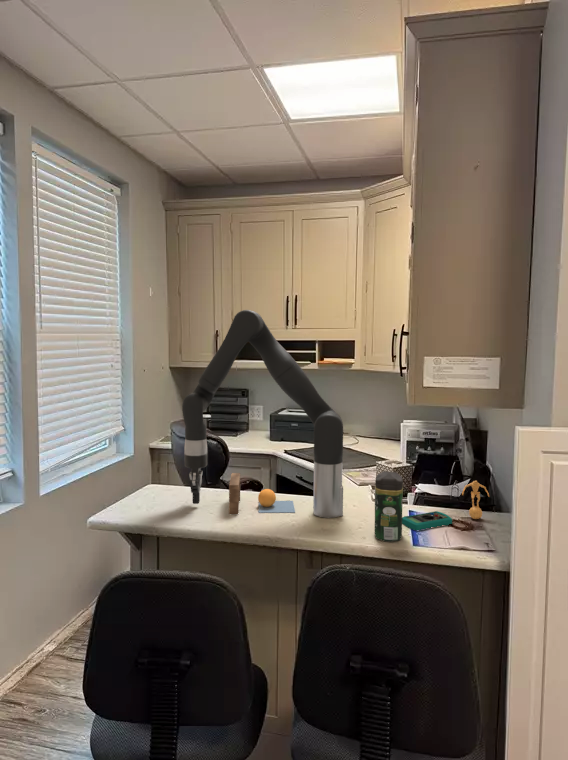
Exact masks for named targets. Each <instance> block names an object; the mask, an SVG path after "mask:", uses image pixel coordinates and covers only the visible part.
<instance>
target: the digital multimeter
mask: <svg viewBox="0 0 568 760" xmlns="http://www.w3.org/2000/svg"><path fill="white" fill-rule="evenodd" d="M449 524H452V525H453V518H452V517H451V516H450V515H448V514H446V513H444V512H441V511H438V510H436V511H435V510H434V511H429V512H424V513H419V514H412V515H411V514H410V515H404V516H402V526H403V525H404V526H405V527H407V528H409V529H411V530H413V531H415V530H420V531H422V530H421V529H425V530H427V529H426V528H429V529H432V528H431V527H434V528H438V527H437V526H440V527H443V526H442V525H446V526H450V525H449Z"/></svg>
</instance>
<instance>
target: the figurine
mask: <svg viewBox="0 0 568 760" xmlns="http://www.w3.org/2000/svg"><path fill="white" fill-rule="evenodd" d="M469 487H471V489H472V491H471V492H470V494H471V495H470V496H471V505H472V507H470V509H469V510H468V514H469V516H470V518H472V519H474V520H479V519H481V518H482V516H483V511H482V508H480V506H479V502H480V500H481V496H480V495H481V492H480V491H479V488H480V487H481V488H483V489H484V491H485V492H486V494H487V496H488V498H490V494H489V492H488V490H487V487H486V486H484V485H482V484H480V483H479V482H478V480H473V481H472V482H470V483H469V484H465V486H464V487H463V490H462V493H461V496H464V494H465V490H466V489H467V488H469ZM475 497H476V498H477V500H476V505H475V503H474V502H475Z"/></svg>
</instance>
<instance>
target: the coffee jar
mask: <svg viewBox="0 0 568 760" xmlns="http://www.w3.org/2000/svg"><path fill="white" fill-rule="evenodd" d="M374 484H375V485H374V536H375V539H377V540H380V541H383V542H389V543H392V542H398V541H400V540H401V539H402V537H403V524H402V517H403V504H404V503H403V499H404V498H403V494H404V493H403V492H404V490H403V489H404V479H403V477H402V476H401V475H400V474H399V473H398V472H397V471H386V470H385V471H382V472H380V473H378V474H377V475H376V477H375V482H374Z"/></svg>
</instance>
